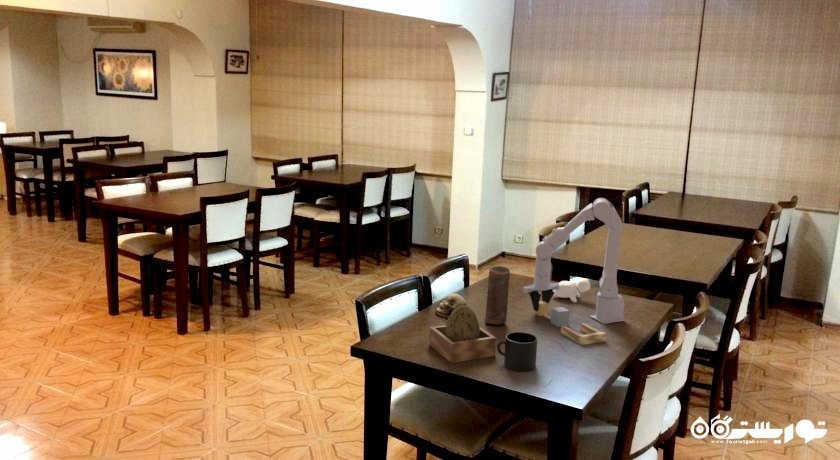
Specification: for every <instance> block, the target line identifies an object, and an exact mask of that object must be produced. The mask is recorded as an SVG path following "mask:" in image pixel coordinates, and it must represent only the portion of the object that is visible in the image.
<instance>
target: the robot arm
mask: <svg viewBox="0 0 840 460" xmlns="http://www.w3.org/2000/svg"><path fill="white" fill-rule="evenodd" d="M595 218H596V219H598V220H600V221H601V222H603V223H604V224H605V226H607V227H608V228H607V239H606V247H605V256H604V264H603V269H602V275H601V277H600V278H599V281H598V287H599V291H598V292H597V295H596V296H597V297H596V308H595V314H594V315H593V314H592V315H590V316H589V317H590V318H591V319H593V320H595V321H597V322H599V323H601V324H604V325H605V324H611V323H618V322H625V319H624V311H625V300H624V298H623V296H622V295H621V294H618V293H619V287H618V280H617V279H618V277H617V275H618V266H619V255H620V249H621V240H622V239H621V238H622V230H623V220H622V219H621V217H620V215H619V214H618V211H617V210H616V208H615V206H614V204H612V203H611V201H609V199H606V198H604V197H598V198H596V199H595V200H594V201H593V203H592V202H591V203H589V204H587V205H586V206H585V207H584V208H583V209H582V210H580V211H579V212H578V213H577V214H576V215H575V216H574V217H572V219H571V220H570V221H569V222H568V223H567V224H565V225H564V227H560V226H559V227H557V228H555V227H554V228H553V229H552V230H551V232H550V234H548V235H547V236H546V237H543V238H542V239H541V240H542V241H540V242H538V243H537V244H536V247H535V254H536V256H535V261H534V263H535V264H534V276H533V277H534V278H533V284H530V285H527V286H523V288H522V292H523V293H524V294H528V295H529V297H530V299H531V304H532V309H533V310H534V311H535V312H536V311H538V308H539V301H540V300H541V301H545V302H547V303H548V305H549V303H550V301H551V300H552V299H553V295H554V291H553V290H555V289H556V290H559V284H558V282H557V283H556V282H555V283H551V273H552V272H551V270H552V262H551V259H552V256H553V252H555V251H557V250H558V249H559V248H560V247H562V246H563V245H564V244H565V243H566V242H567V241H568V240H570V235H571V234H572V233H573V232H574V231H575V230H576V229H578V228H579V227H581V226H582V225H583V224H584V223H586V222H587V221H594V220H595ZM539 292H541V293H539Z"/></svg>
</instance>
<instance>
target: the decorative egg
mask: <svg viewBox="0 0 840 460" xmlns="http://www.w3.org/2000/svg"><path fill="white" fill-rule="evenodd" d="M445 325H446V328H445V335H446V337H447V338H449V339H450V340H451V341H452V342H458V341H465V340H472V339H478V338H479V334H480V327H481V326H480V322H479V318H478V316H477V315H476V312H475V311H474V310H473V308H471V307H470V306H469V305H467V304H466V305H460V306H458V307H457V308H455V309H454V311H453V312H452V313H451V315H450V316H449V318H447V321H446V324H445Z"/></svg>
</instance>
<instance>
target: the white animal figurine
mask: <svg viewBox="0 0 840 460" xmlns="http://www.w3.org/2000/svg"><path fill="white" fill-rule="evenodd" d="M557 284H559V290H556V289H555V290H552V291H554V295H553V296H552V299H555V297H556V298H557V297H558V298H562V299H568V298H569V299H570V300H571V302H573V303H577V301H578V299H577V298H580V297H581V294H580V293H583V292H584V293H585V292H588V291H589V289H590V288H591V283H590V281H589V280H588V279H586V278H582V279H580V280H579V281H578V282H575V281H574V280H570V281H568V280H561V281H560V282H557ZM579 292H580V293H579Z"/></svg>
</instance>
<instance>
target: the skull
mask: <svg viewBox="0 0 840 460" xmlns="http://www.w3.org/2000/svg"><path fill="white" fill-rule="evenodd" d="M460 305H467V301H466V300H465V298H463V296H462V295H460V294H458V293H451V294H448V295H447V297H445V298H444V300H442V302H440V303H439V307H437V308H436V309H435V313H436V314H437V315H438V316H439V317H443V318H445V319H446V318H447V319H448V318H449V316H450V315H451V313H452V312H453V311H454V309H455V308H457V307H458V306H460Z"/></svg>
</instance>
